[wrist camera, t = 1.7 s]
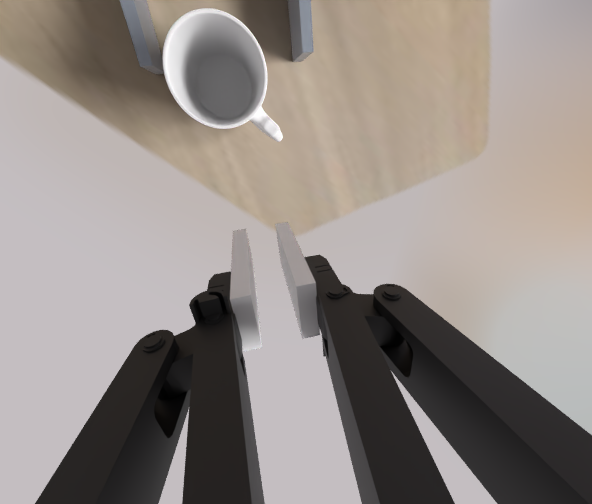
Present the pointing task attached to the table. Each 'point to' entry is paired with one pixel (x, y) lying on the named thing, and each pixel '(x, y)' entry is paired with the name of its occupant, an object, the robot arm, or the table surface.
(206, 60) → the mug
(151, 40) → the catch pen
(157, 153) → the table surface
